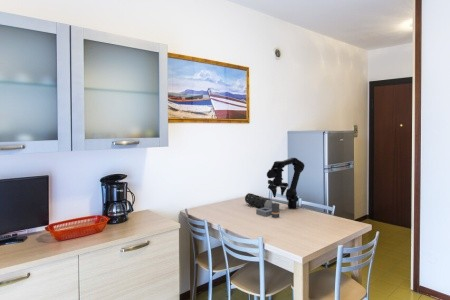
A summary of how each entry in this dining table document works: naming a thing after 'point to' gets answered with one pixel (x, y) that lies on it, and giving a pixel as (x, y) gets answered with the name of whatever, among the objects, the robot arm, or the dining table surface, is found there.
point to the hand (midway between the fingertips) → (278, 196)
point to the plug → (275, 210)
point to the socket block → (264, 211)
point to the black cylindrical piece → (258, 201)
